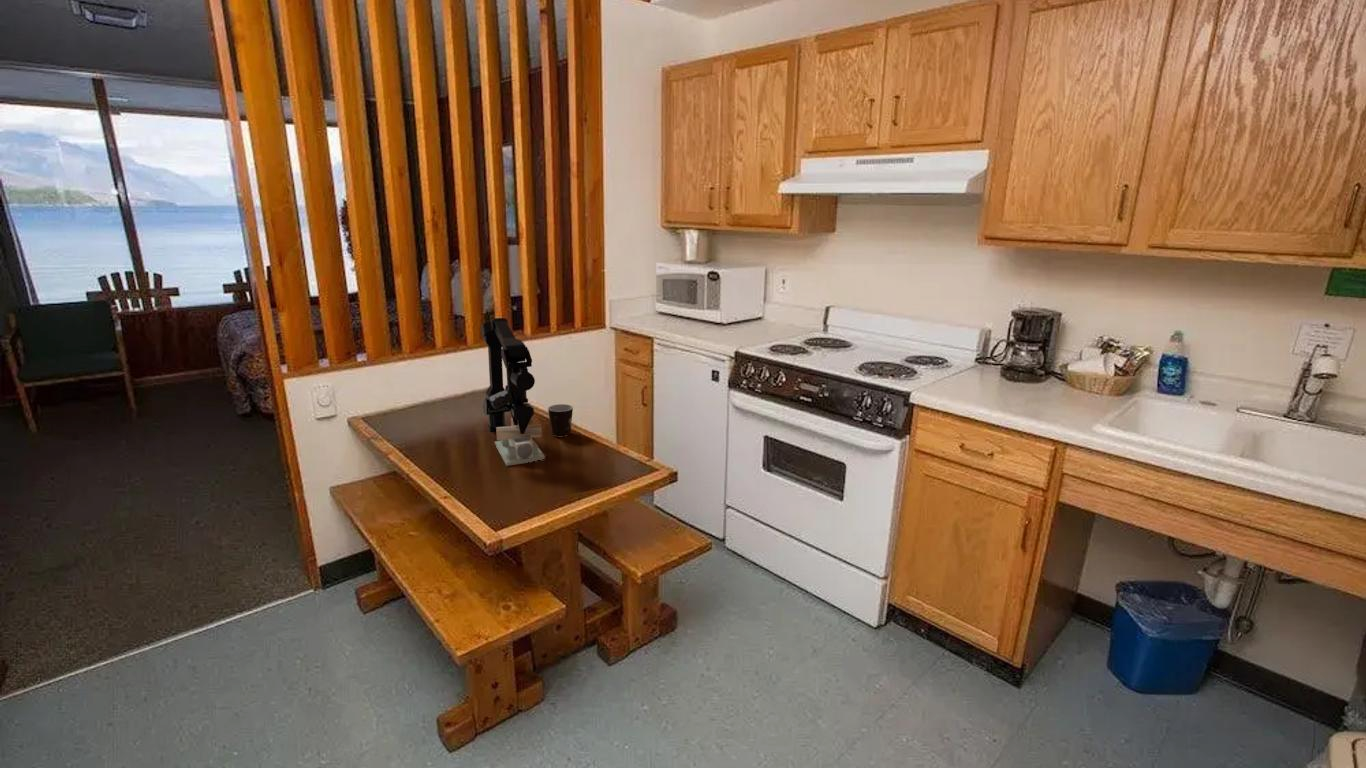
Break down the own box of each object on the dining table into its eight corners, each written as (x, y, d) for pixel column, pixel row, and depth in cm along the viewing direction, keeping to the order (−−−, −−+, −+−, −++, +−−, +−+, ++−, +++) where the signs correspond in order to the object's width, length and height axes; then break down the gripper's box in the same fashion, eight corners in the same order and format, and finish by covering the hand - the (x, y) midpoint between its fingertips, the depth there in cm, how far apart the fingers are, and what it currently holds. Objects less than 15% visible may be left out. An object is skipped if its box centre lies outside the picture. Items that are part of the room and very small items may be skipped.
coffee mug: (560, 428, 223) (559, 402, 220) (578, 433, 219) (577, 406, 216) (537, 438, 213) (536, 411, 211) (556, 443, 209) (555, 415, 206)
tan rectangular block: (497, 435, 197) (496, 427, 196) (541, 432, 201) (540, 424, 200) (496, 440, 193) (496, 431, 193) (541, 436, 197) (541, 427, 196)
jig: (495, 444, 206) (493, 419, 204) (530, 439, 212) (529, 414, 209) (507, 467, 188) (505, 439, 186) (545, 460, 194) (544, 433, 191)
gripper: (485, 378, 197) (488, 423, 201) (495, 393, 181) (499, 442, 185) (519, 375, 202) (522, 419, 206) (533, 389, 186) (535, 437, 190)
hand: (519, 429), depth 196 cm, fingers open, 9 cm apart
